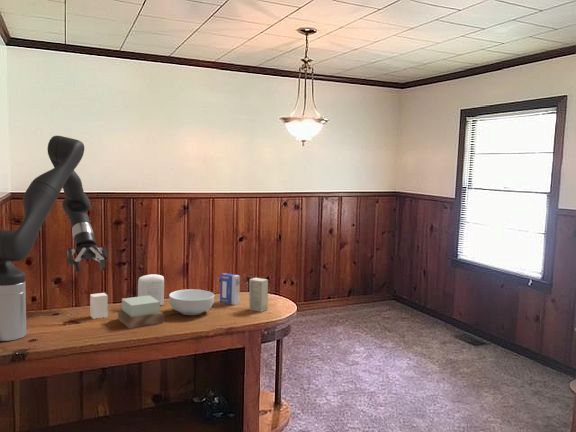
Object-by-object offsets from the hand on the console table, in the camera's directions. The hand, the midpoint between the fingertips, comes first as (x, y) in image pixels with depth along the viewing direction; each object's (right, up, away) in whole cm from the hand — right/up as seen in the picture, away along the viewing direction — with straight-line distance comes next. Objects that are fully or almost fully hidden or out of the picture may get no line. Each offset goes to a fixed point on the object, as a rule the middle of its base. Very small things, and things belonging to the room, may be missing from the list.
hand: (91, 270), depth 183 cm
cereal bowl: (+37, -16, +2) cm, 41 cm away
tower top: (+22, -13, -11) cm, 28 cm away
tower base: (+22, -17, -11) cm, 30 cm away
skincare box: (+62, -16, +9) cm, 65 cm away
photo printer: (+20, -15, +9) cm, 26 cm away
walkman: (+50, -15, +17) cm, 55 cm away
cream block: (+6, -16, -7) cm, 18 cm away
